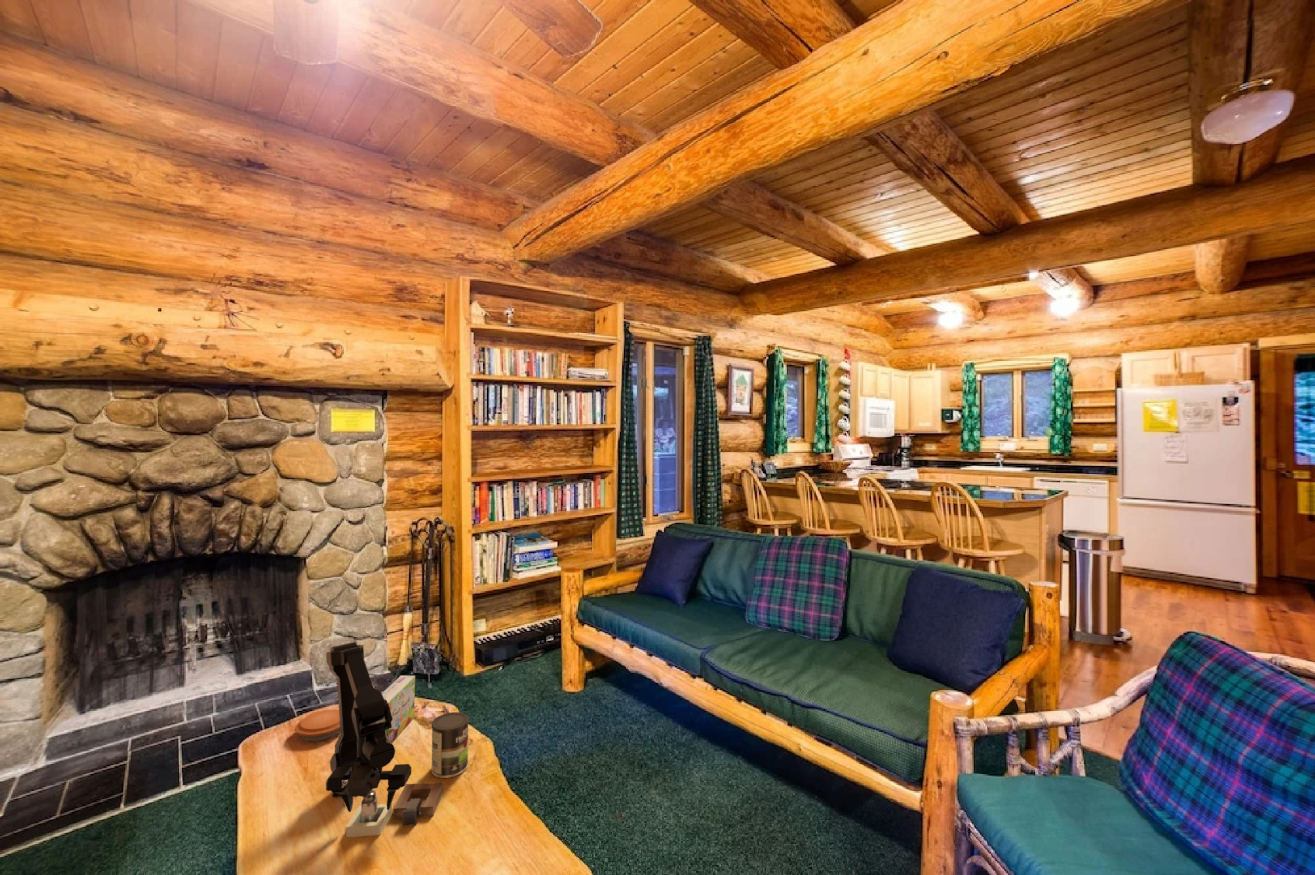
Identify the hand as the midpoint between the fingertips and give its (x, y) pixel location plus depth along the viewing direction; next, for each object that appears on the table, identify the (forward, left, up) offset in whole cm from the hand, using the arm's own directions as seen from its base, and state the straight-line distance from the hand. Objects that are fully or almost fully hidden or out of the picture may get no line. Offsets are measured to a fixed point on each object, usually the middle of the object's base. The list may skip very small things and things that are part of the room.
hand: (369, 810), depth 144 cm
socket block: (+10, +7, -4) cm, 13 cm away
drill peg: (0, 0, -4) cm, 4 cm away
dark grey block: (+10, +1, -4) cm, 11 cm away
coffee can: (+14, +23, -4) cm, 27 cm away
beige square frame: (0, 0, -4) cm, 4 cm away
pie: (-32, +46, -4) cm, 56 cm away
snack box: (-9, +43, -4) cm, 44 cm away
